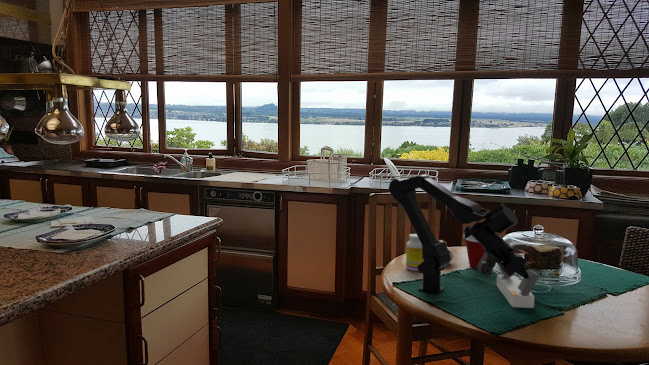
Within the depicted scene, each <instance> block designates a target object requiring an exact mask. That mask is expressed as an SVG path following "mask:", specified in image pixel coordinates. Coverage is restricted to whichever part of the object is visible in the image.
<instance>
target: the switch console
mask: <svg viewBox="0 0 649 365" xmlns="http://www.w3.org/2000/svg"><path fill="white" fill-rule="evenodd" d="M521 281H522V280H520V279H519V278H518V277H517V275H512V277H510V278H508V279H506V278H505V277H504V276H503V275H502V274H497V275H496V287H497V288H498V289H499V292H501V293H502V295H503V296H504V298H505V299H506V301H508V303H509V305H510V306H511V307H512V308H525V309H526V308H527V309H529V308H530V309H534V308H535V295H534V294H533V293H532V291H531V292H530V293H529V295H526V294H524V293H522V292H521V291H520V290H519V289H518V286H519V284H520V283H521Z"/></svg>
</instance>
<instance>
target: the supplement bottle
mask: <svg viewBox="0 0 649 365" xmlns="http://www.w3.org/2000/svg"><path fill="white" fill-rule="evenodd" d="M408 238H409V240H408V241H407V242H406V250H405V251H406V254H405V255H406V256H405V258H406V259H405V261H406V262H405V268H406V269H407V270H409V271H413V272H419V271H418V268H417V266H418V265H420V264H421V263H422V262H423V261H424V259H423V256H422V244H421V242H420V240H419V238H418V236H417V234H416V233H410V234H409V235H408Z"/></svg>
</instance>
